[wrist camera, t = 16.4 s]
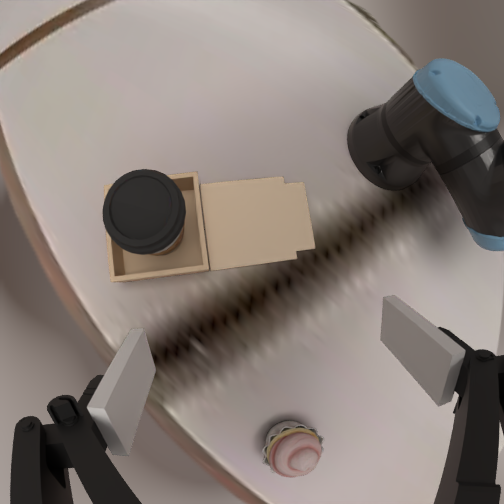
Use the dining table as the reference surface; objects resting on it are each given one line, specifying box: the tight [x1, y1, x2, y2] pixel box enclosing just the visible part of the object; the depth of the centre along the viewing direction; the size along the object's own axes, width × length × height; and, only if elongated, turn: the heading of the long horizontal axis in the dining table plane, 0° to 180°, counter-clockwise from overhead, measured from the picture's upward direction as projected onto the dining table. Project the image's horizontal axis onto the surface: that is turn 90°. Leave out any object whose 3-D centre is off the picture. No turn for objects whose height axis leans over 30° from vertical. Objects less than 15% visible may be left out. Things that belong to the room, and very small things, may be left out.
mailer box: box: [104, 172, 315, 282], centre depth 40 cm, size 28×12×6 cm, turn 99°
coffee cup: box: [103, 169, 186, 256], centre depth 34 cm, size 8×8×15 cm
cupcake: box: [262, 421, 324, 477], centre depth 37 cm, size 9×9×10 cm
